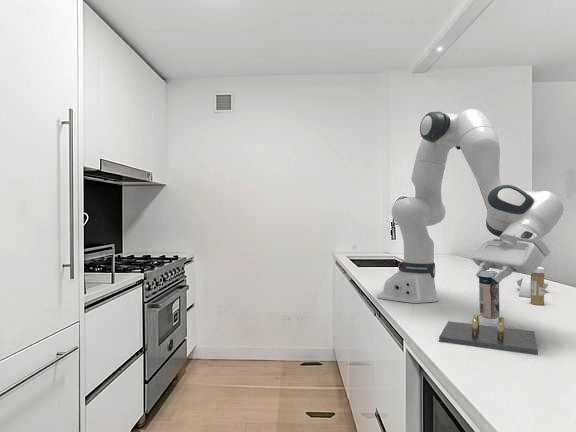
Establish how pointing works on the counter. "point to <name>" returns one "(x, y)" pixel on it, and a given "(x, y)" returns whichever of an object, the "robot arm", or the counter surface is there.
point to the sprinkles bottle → (537, 286)
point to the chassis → (490, 336)
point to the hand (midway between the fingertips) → (486, 278)
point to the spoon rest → (526, 287)
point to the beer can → (488, 295)
